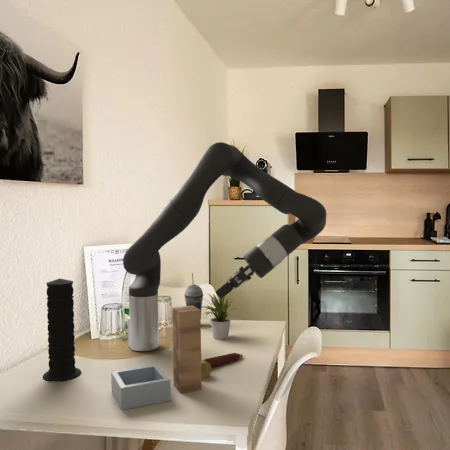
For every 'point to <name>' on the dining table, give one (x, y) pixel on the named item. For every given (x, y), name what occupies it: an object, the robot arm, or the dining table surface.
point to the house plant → (219, 317)
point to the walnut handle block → (186, 348)
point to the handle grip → (61, 331)
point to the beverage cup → (194, 295)
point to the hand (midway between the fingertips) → (217, 295)
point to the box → (140, 386)
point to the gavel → (217, 362)
